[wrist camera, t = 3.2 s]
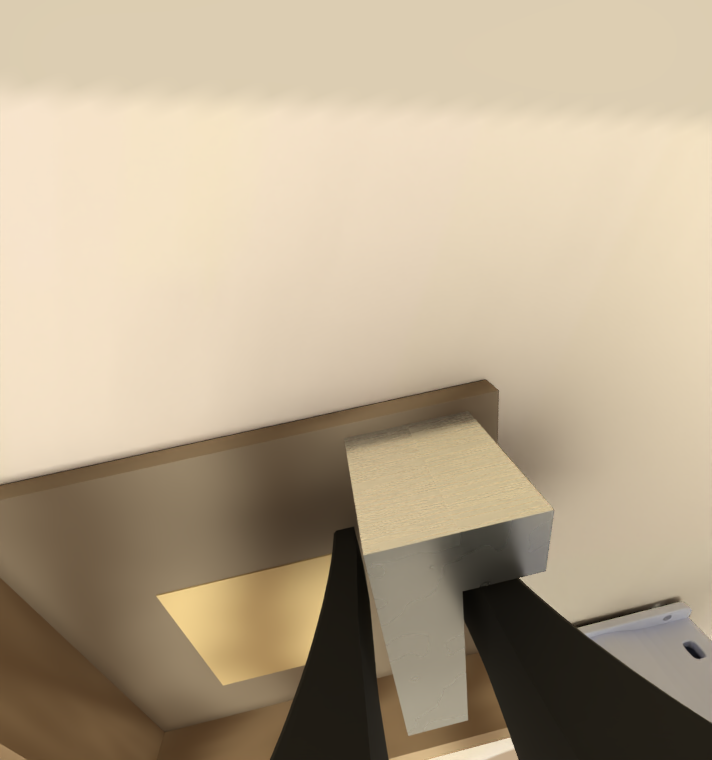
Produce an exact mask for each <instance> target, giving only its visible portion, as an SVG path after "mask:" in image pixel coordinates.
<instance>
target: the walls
mask: <svg viewBox="0 0 712 760" xmlns="http://www.w3.org/2000/svg"><path fill="white" fill-rule="evenodd" d="M465 660H466V683H467V706H468V720H467V721H463V722H460V723H456V724H452V725H448V726H444V727H441V728H437V729H433V730H429V731H425V732H422V733H418V734H414V735H410V736H408V733H407V729H406V725H405V721H404V717H403V713H402V709H401V705H400V701H399V697H398V693H397V689H396V685H395V681H394V677H393V674H392V675H388V676H385V677H381V678H377V685H378V693H379V702H380V708H381V714H382V721H383V727H384V733H385V740H386V746H387V752H388V758H389V760H427V759H431V758H435V757H438V756H442V755H446V754H450V753H453V752H457V751H461V750H465V749H468V748H472V747H476V746H480V745H483V744H487V743H491V742H495V741H498V740H502V739H506V738H510V734H509V731H508V728H507V726H506V723H505V720H504V717H503V714H502V712H501V709H500V706H499V704H498V701H497V698H496V695H495V693H494V690H493V687H492V684H491V682H490V679H489V676H488V674H487V671H486V669H485V666H484V664H483V662H482V659H481V657H480V655H479V653H475V654H471V655H467V656H465ZM292 702H293V700H290V701H286V702H282V703H278V704H275V705H271V706H267V707H263V708H259V709H255V710H251V711H247V712H243V713H239V714H235V715H231V716H227V717H223V718H220V719H216V720H212V721H208V722H204V723H200V724H196V725H192V726H188V727H184V728H180V729H176V730H172V731H168V732H164V731H163V730H161V729H160V728H159V727H158V726H157V725H156V724H155V723H154V722H153V721H152V720H151V719H150V718H149V717H148V716H147V715H146V714H144V713H143V712H142V711H141V710H140V709H139V708H138V707H137V706H136V705H135V704H134V703H133V702H132V701H131V700H130V699H129V698H127V697H126V696H125V695H124V694H123V693H122V692H121V691H120V690H119V689H118V688H117V687H116V686H115V685H114V684H113V683H112V682H111V681H109V680H108V679H107V678H106V677H105V676H104V675H103V674H102V673H101V672H100V671H99V670H98V669H97V668H96V667H95V666H94V665H92V664H91V663H90V662H89V661H88V660H87V659H86V658H85V657H84V656H83V655H82V654H81V653H80V652H79V651H78V650H77V649H75V648H74V647H73V646H72V645H71V644H70V643H69V642H68V641H67V640H66V639H65V638H64V637H63V636H62V635H61V634H60V633H58V632H57V631H56V630H55V629H54V628H53V627H52V626H51V625H50V624H49V623H48V622H47V621H46V620H45V619H44V618H43V617H41V616H40V615H39V614H38V613H37V612H36V611H35V610H34V609H33V608H32V607H31V606H30V605H29V604H28V603H27V602H26V601H25V600H23V599H22V598H21V597H20V596H19V595H18V594H17V593H16V592H15V591H14V590H13V589H12V588H11V587H10V586H9V585H8V584H6V583H5V582H4V581H3V580H2V579H1V578H0V760H270V758H271V755H272V753H273V751H274V748H275V746H276V743H277V741H278V739H279V736H280V734H281V731H282V728H283V726H284V723H285V721H286V718H287V715H288V713H289V710H290V707H291V704H292Z"/></svg>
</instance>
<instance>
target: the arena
mask: <svg viewBox="0 0 712 760" xmlns="http://www.w3.org/2000/svg"><path fill="white" fill-rule="evenodd" d="M498 402H499V390H498V389H496V388H495V387H494V386H493V385H492V384H491V383H489V382H488V381H487V380H482V381H478V382H473V383H469V384H464V385H459V386H455V387H450V388H446V389H441V390H436V391H432V392H427V393H423V394H418V395H414V396H409V397H404V398H400V399H395V400H391V401H386V402H381V403H377V404H372V405H368V406H363V407H358V408H354V409H349V410H345V411H340V412H336V413H331V414H326V415H322V416H317V417H313V418H308V419H303V420H299V421H294V422H290V423H285V424H280V425H276V426H271V427H267V428H262V429H258V430H253V431H248V432H244V433H239V434H235V435H230V436H225V437H221V438H216V439H212V440H207V441H202V442H198V443H193V444H189V445H184V446H180V447H175V448H170V449H166V450H161V451H157V452H152V453H147V454H143V455H138V456H134V457H129V458H124V459H120V460H115V461H111V462H106V463H102V464H97V465H92V466H88V467H83V468H79V469H74V470H69V471H65V472H60V473H56V474H51V475H46V476H42V477H37V478H33V479H28V480H23V481H19V482H14V483H10V484H5V485H1V486H0V578H1V579H2V580H3V581H4V582H5V583H6V584H8V585H9V586H10V587H11V588H12V589H13V590H14V591H15V592H16V593H17V594H18V595H19V596H20V597H21V598H22V599H23V600H25V601H26V602H27V603H28V604H29V605H30V606H31V607H32V608H33V609H34V610H35V611H36V612H37V613H38V614H39V615H40V616H41V617H43V618H44V619H45V620H46V621H47V622H48V623H49V624H50V625H51V626H52V627H53V628H54V629H55V630H56V631H57V632H58V633H60V634H61V635H62V636H63V637H64V638H65V639H66V640H67V641H68V642H69V643H70V644H71V645H72V646H73V647H74V648H75V649H77V650H78V651H79V652H80V653H81V654H82V655H83V656H84V657H85V658H86V659H87V660H88V661H89V662H90V663H91V664H92V665H94V666H95V667H96V668H97V669H98V670H99V671H100V672H101V673H102V674H103V675H104V676H105V677H106V678H107V679H108V680H109V681H111V682H112V683H113V684H114V685H115V686H116V687H117V688H118V689H119V690H120V691H121V692H122V693H123V694H124V695H125V696H126V697H127V698H129V699H130V700H131V701H132V702H133V703H134V704H135V705H136V706H137V707H138V708H139V709H140V710H141V711H142V712H143V713H144V714H146V715H147V716H148V717H149V718H150V719H151V720H152V721H153V722H154V723H155V724H156V725H157V726H158V727H159V728H160V729H161V730H163V731H164V732H168V731H172V730H176V729H180V728H184V727H188V726H192V725H196V724H200V723H204V722H208V721H212V720H216V719H220V718H223V717H227V716H231V715H235V714H239V713H243V712H247V711H251V710H255V709H259V708H263V707H267V706H271V705H275V704H278V703H282V702H286V701H290V700H293V699H294V696H295V693H296V690H297V688H298V685H299V682H300V679H301V676H302V673H303V670H304V667H305V664H306V661H307V658H308V654H309V651H310V648H311V644H312V641H313V638H314V634H315V630H316V626H317V623H318V619H319V615H320V611H321V607H322V603H323V599H324V594H325V590H326V585H327V580H328V575H329V569H330V564H331V557H332V549H333V537H334V533H335V532H336V531H337V530H341V529H345V528H349V527H354V529H355V533H356V536H357V540H358V544H359V548H360V552H361V556H362V560H363V564H364V569H365V575H366V581H367V586H368V592H369V598H370V608H371V619H372V630H373V641H374V652H375V663H376V675H377V678H381V677H385V676H388V675H392V674H393V673H392V669H391V665H390V661H389V657H388V653H387V649H386V645H385V641H384V637H383V633H382V629H381V625H380V621H379V617H378V613H377V609H376V605H375V600H374V596H373V592H372V588H371V584H370V580H369V576H368V572H367V568H366V564H365V560H364V556H363V551H362V545H361V538H360V532H359V526H358V520H357V514H356V508H355V502H354V496H353V490H352V483H351V477H350V471H349V465H348V459H347V453H346V447H345V441H344V438H348V437H353V436H357V435H362V434H366V433H371V432H375V431H380V430H384V429H389V428H393V427H398V426H402V425H407V424H411V423H416V422H420V421H425V420H429V419H434V418H438V417H443V416H447V415H452V414H456V413H461V412H465V411H469V413H470V414H471V415H472V416H473V417H474V418H475V419H476V421H477V422H478V423H479V424H480V425H481V426H482V428H483V429H484V430H485V431H486V432H487V433H488V434H489V436H490V437H491V438H492V439H493V440H494V441H495V442H496V444H497V439H498ZM464 637H465V656H467V655H471V654H475V653H479V652H478V650H477V648H476V646H475V643H474V641H473V639H472V637H471V635H470V632H469V630H468V628H467V626H466V624H465V621H464Z"/></svg>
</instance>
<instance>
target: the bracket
mask: <svg viewBox="0 0 712 760" xmlns="http://www.w3.org/2000/svg"><path fill="white" fill-rule="evenodd" d="M344 441H345V447H346V453H347V459H348V465H349V471H350V477H351V483H352V490H353V496H354V502H355V508H356V514H357V520H358V526H359V532H360V538H361V545H362V551H363V556H364V560H365V564H366V568H367V572H368V576H369V580H370V584H371V588H372V592H373V596H374V600H375V605H376V609H377V613H378V617H379V621H380V625H381V629H382V633H383V637H384V641H385V645H386V649H387V653H388V657H389V661H390V665H391V669H392V673H393V677H394V681H395V685H396V689H397V693H398V697H399V701H400V705H401V709H402V713H403V717H404V721H405V725H406V729H407V733H408V736H410V735H414V734H418V733H422V732H425V731H429V730H433V729H437V728H441V727H444V726H448V725H452V724H456V723H460V722H463V721H467V720H468V706H467V683H466V660H465V637H464V614H463V591H466V590H470V589H475V588H479V587H483V586H487V585H491V584H495V583H499V582H503V581H507V580H511V579H515V578H519V577H523V576H527V575H532V574H536V573H540V572H544V571H546V565H547V558H548V551H549V544H550V536H551V529H552V522H553V515H554V509H553V508H552V507H551V506H550V505H549V503H548V502H547V501H546V500H545V499H544V498H543V497H542V495H541V494H540V493H539V492H538V491H537V490H536V489H535V487H534V486H533V485H532V484H531V483H530V482H529V480H528V479H527V478H526V477H525V476H524V475H523V474H522V472H521V471H520V470H519V469H518V468H517V467H516V466H515V464H514V463H513V462H512V461H511V460H510V459H509V457H508V456H507V455H506V454H505V453H504V452H503V451H502V449H501V448H500V447H499V446H498V445H497V444H496V442H495V441H494V440H493V439H492V438H491V437H490V436H489V434H488V433H487V432H486V431H485V430H484V429H483V428H482V426H481V425H480V424H479V423H478V422H477V421H476V419H475V418H474V417H473V416H472V415H471V414H470V413H469V411H465V412H461V413H456V414H452V415H447V416H443V417H438V418H434V419H429V420H425V421H420V422H416V423H411V424H407V425H402V426H398V427H393V428H389V429H384V430H380V431H375V432H371V433H366V434H362V435H357V436H353V437H348V438H344Z"/></svg>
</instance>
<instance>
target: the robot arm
mask: <svg viewBox="0 0 712 760" xmlns="http://www.w3.org/2000/svg"><path fill="white" fill-rule="evenodd" d="M691 611H692V610H691V608H690V607H689V606H688V605H687V604H686V603H685V602H677V603H673V604H669V605H665V606H661V607H657V608H653V609H649V610H645V611H641V612H637V613H633V614H629V615H625V616H622V617H618V618H614V619H610V620H606V621H602V622H598V623H594V624H590V625H586V626H582V627H578V628H576V627H575V626H574V625H572V624H571V623H570V622H569V621H567V620H566V619H565V618H564V617H562V616H561V615H560V614H559V613H558V612H557V611H555V610H554V609H553V608H552V607H551V606H549V605H548V604H547V603H546V602H545V601H544V600H542V599H541V598H540V597H539V596H538V595H537V594H536V593H534V592H533V591H532V590H531V589H530V588H529V587H528V586H527V585H526V584H525V583H523V582H522V581H521V580H520V579H519V578H515V579H511V580H507V581H503V582H499V583H495V584H491V585H487V586H483V587H479V588H475V589H470V590H466V591H463V614H464V621H465V624H466V626H467V628H468V630H469V632H470V635H471V637H472V639H473V641H474V643H475V646H476V648H477V650H478V652H479V655H480V657H481V659H482V662H483V664H484V666H485V669H486V671H487V674H488V676H489V679H490V682H491V684H492V687H493V690H494V693H495V695H496V698H497V701H498V704H499V706H500V709H501V712H502V714H503V717H504V720H505V723H506V726H507V728H508V731H509V734H510V737H511V739H512V742H513V745H514V748H515V751H516V753H517V756H518V759H519V760H712V641H711V640H710V639H709V638H708V637H707V636H706V635H705V634H704V633H703V632H702V631H701V630H700V629H699V628H698V627H697V626H696V625H695V624H694V623H693V622H692V620H691V619H690V618H688V617H689V615H690V613H691ZM270 760H389V758H388V752H387V746H386V740H385V733H384V727H383V721H382V714H381V708H380V702H379V693H378V685H377V675H376V663H375V652H374V641H373V630H372V619H371V608H370V598H369V592H368V586H367V581H366V575H365V569H364V564H363V560H362V556H361V552H360V548H359V544H358V540H357V536H356V533H355V529H354V527H349V528H345V529H341V530H337V531H336V532H335V533H334V537H333V549H332V557H331V564H330V569H329V575H328V580H327V585H326V590H325V594H324V599H323V603H322V607H321V611H320V615H319V619H318V623H317V626H316V630H315V634H314V638H313V641H312V644H311V648H310V651H309V654H308V658H307V661H306V664H305V667H304V670H303V673H302V676H301V679H300V682H299V685H298V688H297V690H296V693H295V696H294V699H293V702H292V704H291V707H290V710H289V713H288V715H287V718H286V721H285V723H284V726H283V728H282V731H281V734H280V736H279V739H278V741H277V743H276V746H275V748H274V751H273V753H272V755H271V758H270Z"/></svg>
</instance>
